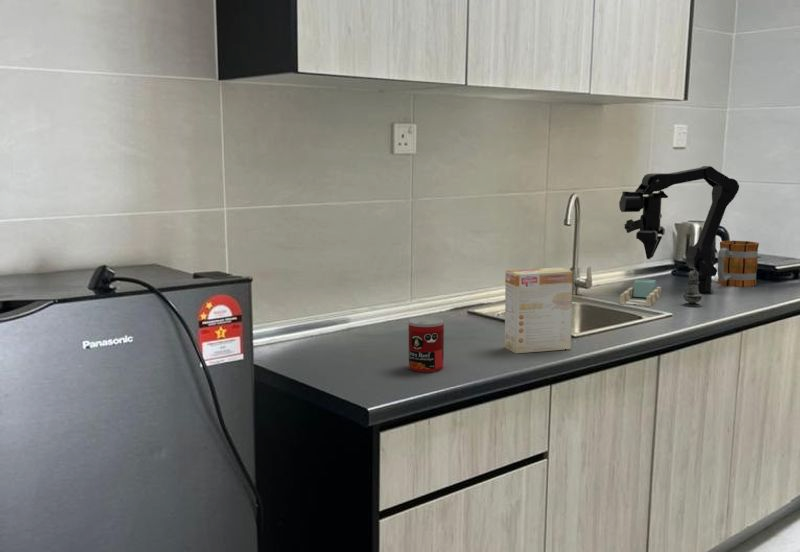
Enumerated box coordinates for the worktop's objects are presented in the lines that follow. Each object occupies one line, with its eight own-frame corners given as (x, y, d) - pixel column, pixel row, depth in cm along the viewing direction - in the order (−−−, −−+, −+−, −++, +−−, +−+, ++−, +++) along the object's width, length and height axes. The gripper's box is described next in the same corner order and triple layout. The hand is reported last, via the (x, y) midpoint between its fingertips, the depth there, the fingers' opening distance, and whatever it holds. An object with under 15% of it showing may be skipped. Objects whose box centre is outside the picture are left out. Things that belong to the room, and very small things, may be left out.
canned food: (402, 369, 175) (401, 321, 174) (421, 361, 182) (421, 315, 180) (431, 375, 171) (431, 325, 169) (449, 366, 178) (450, 319, 176)
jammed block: (636, 293, 263) (637, 278, 263) (655, 294, 261) (655, 280, 260) (633, 296, 258) (633, 281, 257) (652, 297, 255) (652, 282, 255)
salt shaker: (699, 303, 247) (701, 266, 245) (704, 307, 241) (706, 269, 240) (680, 303, 248) (681, 266, 246) (684, 307, 242) (686, 268, 240)
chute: (632, 293, 265) (632, 285, 264) (660, 296, 261) (661, 287, 260) (619, 304, 247) (620, 294, 247) (650, 306, 243) (650, 297, 243)
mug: (728, 279, 292) (731, 239, 290) (764, 284, 282) (767, 242, 280) (700, 285, 280) (702, 243, 278) (736, 290, 270) (739, 247, 267)
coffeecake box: (558, 343, 199) (560, 266, 196) (571, 349, 192) (574, 270, 189) (503, 347, 195) (504, 269, 192) (514, 354, 188) (516, 273, 185)
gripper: (632, 209, 273) (630, 253, 275) (621, 213, 257) (619, 260, 259) (665, 210, 268) (663, 255, 270) (656, 214, 252) (654, 262, 254)
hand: (649, 258), depth 264 cm, fingers open, 4 cm apart
